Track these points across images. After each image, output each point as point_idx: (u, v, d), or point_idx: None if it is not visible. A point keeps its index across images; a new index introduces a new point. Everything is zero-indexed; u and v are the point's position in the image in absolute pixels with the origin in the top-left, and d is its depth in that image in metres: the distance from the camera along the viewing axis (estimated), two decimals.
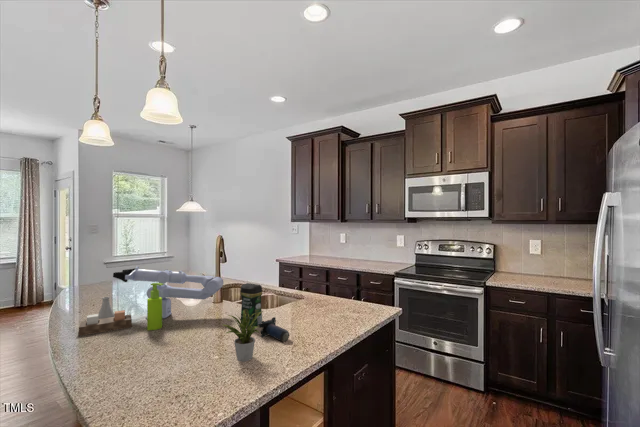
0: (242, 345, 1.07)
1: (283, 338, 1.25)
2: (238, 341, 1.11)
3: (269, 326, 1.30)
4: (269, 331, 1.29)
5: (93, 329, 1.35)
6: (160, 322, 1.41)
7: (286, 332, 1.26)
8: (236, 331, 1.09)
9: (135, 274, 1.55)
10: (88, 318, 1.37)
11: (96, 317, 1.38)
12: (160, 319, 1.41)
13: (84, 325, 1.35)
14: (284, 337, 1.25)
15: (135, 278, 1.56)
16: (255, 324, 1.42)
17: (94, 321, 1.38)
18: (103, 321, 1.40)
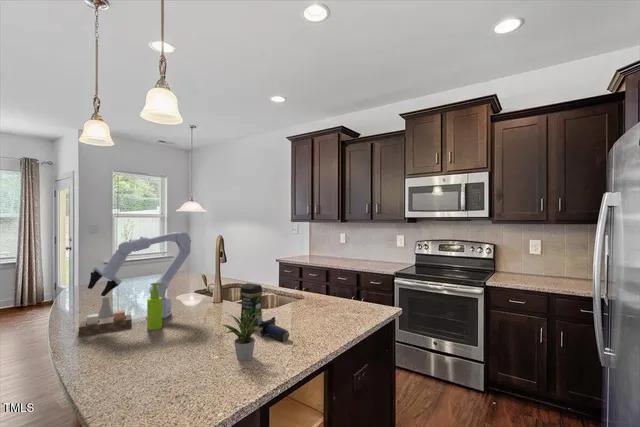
0: (242, 345, 1.07)
1: (283, 338, 1.25)
2: (238, 341, 1.11)
3: (269, 326, 1.30)
4: (269, 331, 1.29)
5: (93, 329, 1.35)
6: (160, 322, 1.41)
7: (286, 332, 1.26)
8: (236, 331, 1.09)
9: (112, 274, 1.47)
10: (88, 318, 1.37)
11: (96, 317, 1.38)
12: (160, 319, 1.41)
13: (84, 325, 1.35)
14: (284, 337, 1.25)
15: None
16: (255, 324, 1.42)
17: (94, 321, 1.38)
18: (103, 321, 1.40)
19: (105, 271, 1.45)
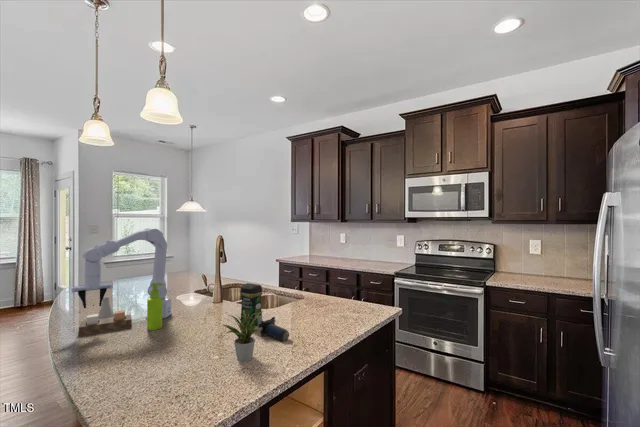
0: (242, 345, 1.07)
1: (283, 338, 1.25)
2: (238, 341, 1.11)
3: (269, 326, 1.30)
4: (269, 331, 1.29)
5: (93, 329, 1.35)
6: (160, 322, 1.41)
7: (286, 332, 1.26)
8: (236, 331, 1.09)
9: (100, 283, 1.40)
10: (88, 318, 1.37)
11: (96, 317, 1.38)
12: (160, 319, 1.41)
13: (84, 325, 1.35)
14: (284, 337, 1.25)
15: None
16: (255, 324, 1.42)
17: (94, 321, 1.38)
18: (103, 321, 1.40)
19: (92, 285, 1.37)
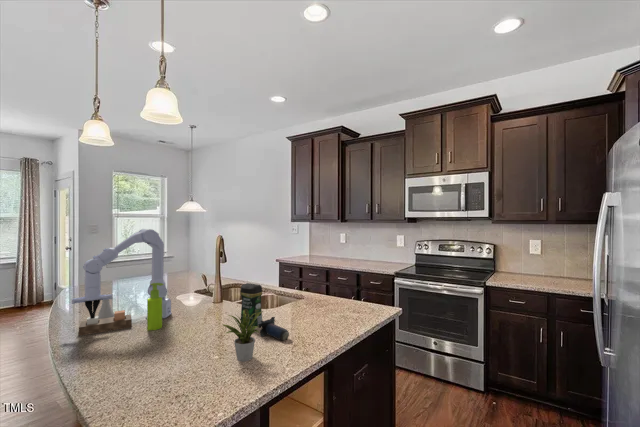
0: (242, 345, 1.07)
1: (283, 337, 1.25)
2: (238, 341, 1.11)
3: (268, 325, 1.31)
4: (268, 330, 1.29)
5: (93, 329, 1.35)
6: (160, 322, 1.41)
7: (286, 331, 1.26)
8: (236, 331, 1.09)
9: (100, 294, 1.40)
10: (88, 320, 1.37)
11: (96, 319, 1.38)
12: (160, 319, 1.41)
13: (84, 325, 1.35)
14: (284, 336, 1.26)
15: None
16: (255, 324, 1.42)
17: (94, 323, 1.38)
18: (103, 321, 1.40)
19: (92, 296, 1.37)
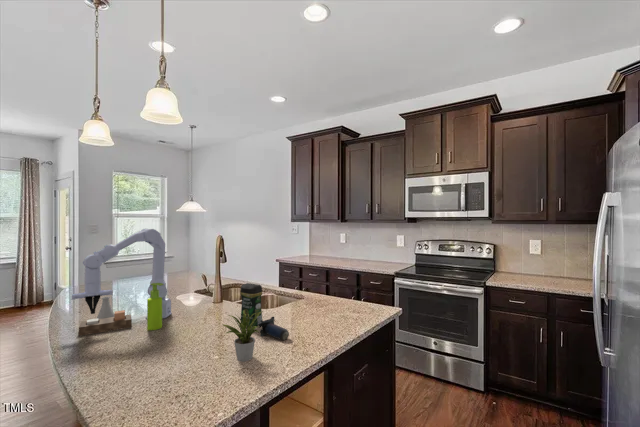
0: (242, 345, 1.07)
1: (283, 337, 1.26)
2: (238, 341, 1.11)
3: (268, 325, 1.31)
4: (268, 330, 1.30)
5: (93, 329, 1.35)
6: (160, 322, 1.41)
7: (286, 331, 1.27)
8: (236, 331, 1.09)
9: (100, 290, 1.40)
10: (88, 323, 1.37)
11: (96, 322, 1.38)
12: (160, 319, 1.41)
13: (84, 325, 1.35)
14: (284, 336, 1.26)
15: None
16: (255, 324, 1.42)
17: None
18: (103, 321, 1.40)
19: (92, 291, 1.37)
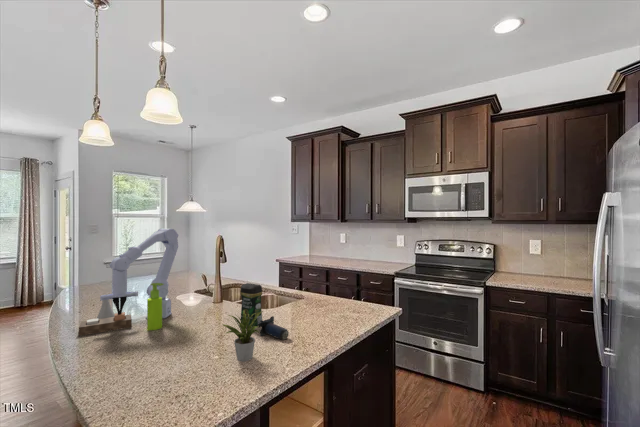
0: (242, 345, 1.07)
1: (283, 337, 1.26)
2: (238, 341, 1.11)
3: (268, 325, 1.31)
4: (268, 330, 1.30)
5: (93, 329, 1.35)
6: (160, 322, 1.41)
7: (285, 331, 1.27)
8: (236, 331, 1.09)
9: (126, 292, 1.45)
10: (88, 323, 1.37)
11: (96, 322, 1.38)
12: (160, 319, 1.41)
13: (84, 325, 1.35)
14: (283, 336, 1.26)
15: None
16: (255, 324, 1.42)
17: None
18: (103, 321, 1.40)
19: (119, 293, 1.42)
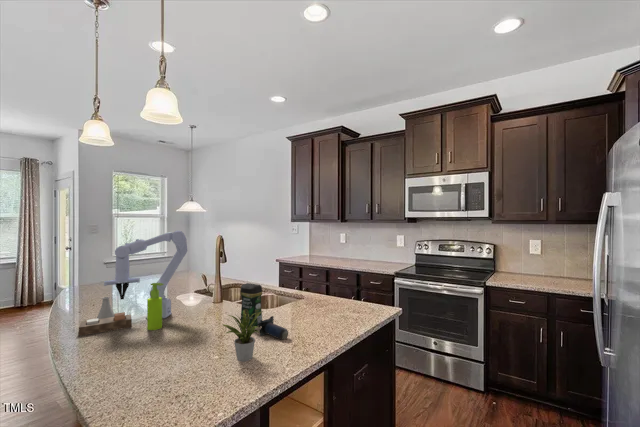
0: (242, 345, 1.07)
1: (282, 336, 1.26)
2: (238, 341, 1.11)
3: (268, 325, 1.32)
4: (268, 330, 1.30)
5: (93, 329, 1.35)
6: (160, 322, 1.41)
7: (285, 330, 1.28)
8: (236, 331, 1.09)
9: (129, 278, 1.53)
10: (88, 323, 1.37)
11: (96, 322, 1.38)
12: (160, 319, 1.41)
13: (84, 325, 1.35)
14: (283, 335, 1.27)
15: None
16: (255, 324, 1.42)
17: None
18: (103, 321, 1.40)
19: (122, 279, 1.50)
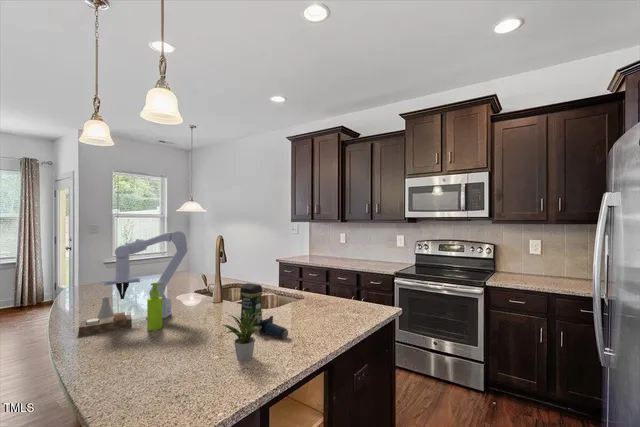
0: (242, 345, 1.07)
1: (282, 336, 1.27)
2: (238, 341, 1.11)
3: (267, 325, 1.32)
4: (268, 329, 1.31)
5: (93, 329, 1.35)
6: (160, 322, 1.41)
7: (285, 330, 1.28)
8: (236, 331, 1.09)
9: (129, 278, 1.54)
10: (88, 323, 1.37)
11: (96, 322, 1.38)
12: (160, 319, 1.41)
13: (84, 325, 1.35)
14: (283, 335, 1.27)
15: None
16: (255, 324, 1.42)
17: None
18: (103, 321, 1.40)
19: (122, 279, 1.51)
